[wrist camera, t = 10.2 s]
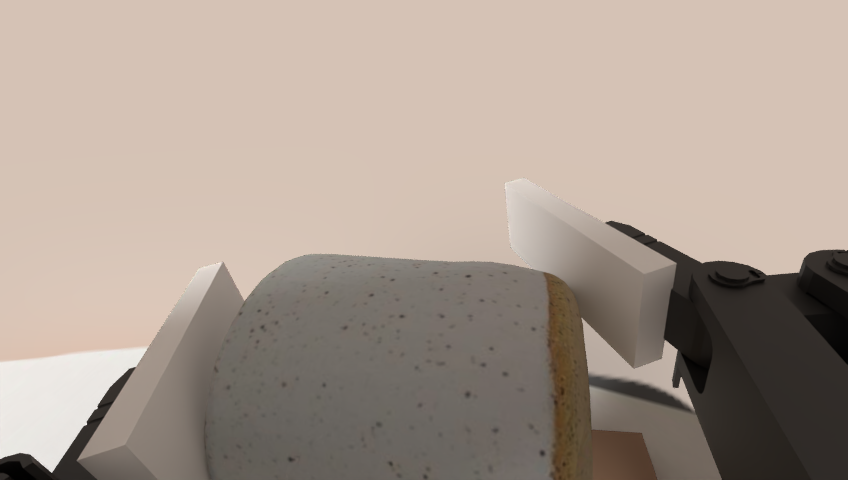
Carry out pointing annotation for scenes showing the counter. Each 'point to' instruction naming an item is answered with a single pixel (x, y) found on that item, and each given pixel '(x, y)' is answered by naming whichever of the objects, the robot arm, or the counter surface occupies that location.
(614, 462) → the walnut board
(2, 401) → the counter surface
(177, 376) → the robot arm
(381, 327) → the speckled gray mug
